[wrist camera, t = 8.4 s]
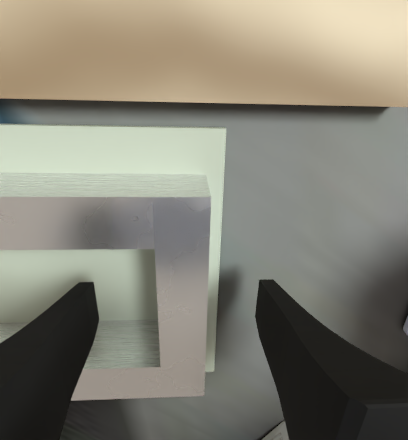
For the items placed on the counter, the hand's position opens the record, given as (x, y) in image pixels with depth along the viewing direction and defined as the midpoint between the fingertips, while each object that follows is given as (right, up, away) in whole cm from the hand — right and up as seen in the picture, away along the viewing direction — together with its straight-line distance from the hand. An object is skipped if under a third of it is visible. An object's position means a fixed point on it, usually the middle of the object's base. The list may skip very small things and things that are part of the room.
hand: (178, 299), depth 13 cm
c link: (-5, +1, +2) cm, 5 cm away
